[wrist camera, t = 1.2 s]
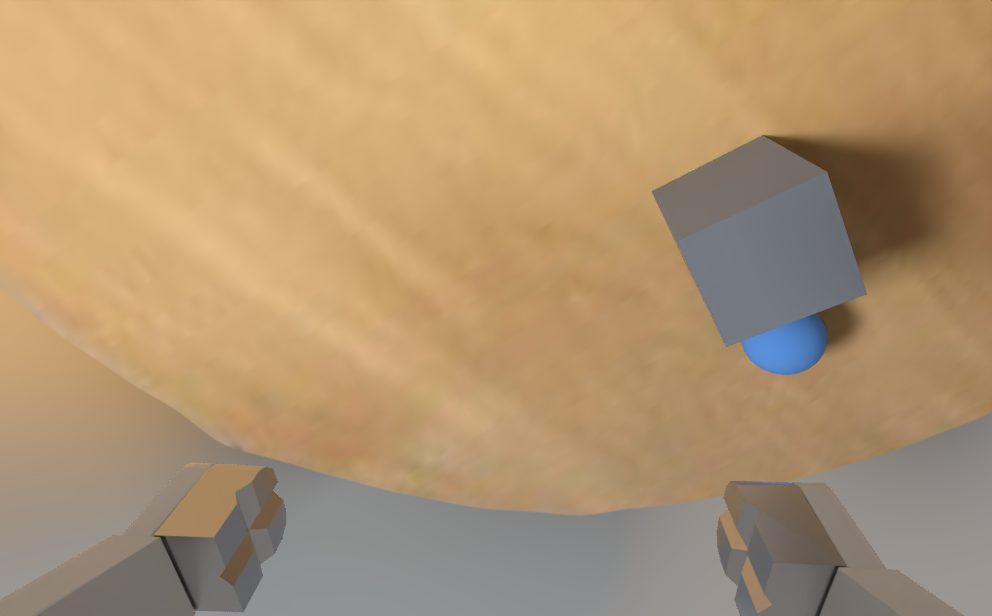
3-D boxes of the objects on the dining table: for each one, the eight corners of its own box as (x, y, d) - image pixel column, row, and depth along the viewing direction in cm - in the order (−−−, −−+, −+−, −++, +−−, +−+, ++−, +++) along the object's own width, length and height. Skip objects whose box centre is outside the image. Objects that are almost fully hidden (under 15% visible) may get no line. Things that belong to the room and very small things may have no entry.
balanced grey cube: (762, 135, 31) (827, 171, 23) (798, 232, 33) (866, 294, 25) (651, 191, 33) (676, 241, 25) (692, 277, 35) (726, 346, 28)
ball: (795, 275, 34) (828, 311, 30) (817, 331, 36) (851, 373, 32) (722, 305, 36) (743, 343, 32) (746, 357, 38) (768, 400, 34)
